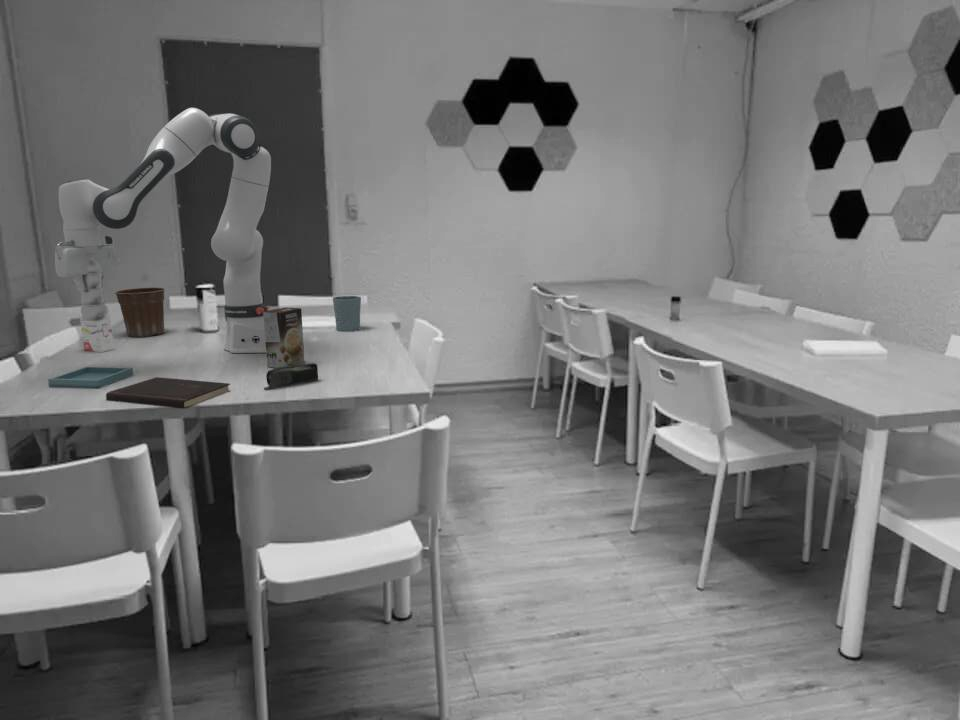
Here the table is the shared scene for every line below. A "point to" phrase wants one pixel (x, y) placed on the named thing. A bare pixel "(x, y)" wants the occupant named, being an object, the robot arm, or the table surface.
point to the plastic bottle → (93, 293)
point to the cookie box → (284, 337)
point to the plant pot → (142, 311)
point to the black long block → (291, 375)
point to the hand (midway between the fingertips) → (91, 290)
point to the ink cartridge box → (97, 334)
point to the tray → (90, 377)
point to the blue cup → (347, 313)
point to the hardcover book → (168, 392)
